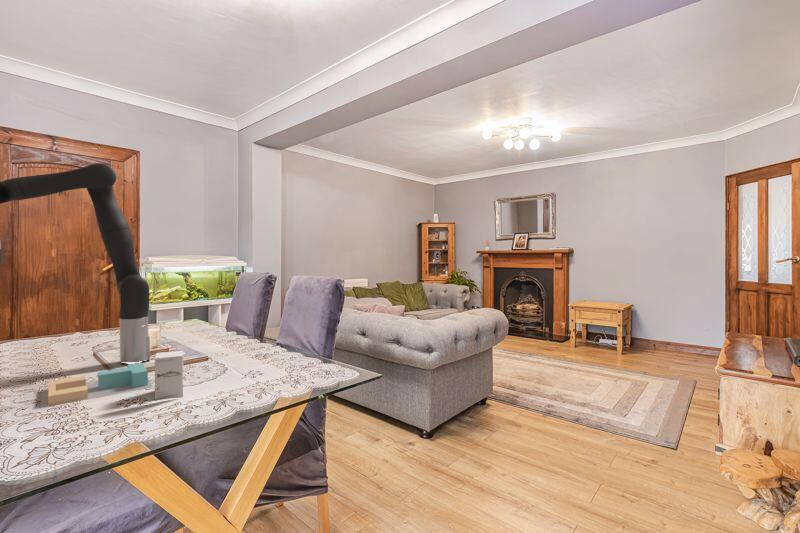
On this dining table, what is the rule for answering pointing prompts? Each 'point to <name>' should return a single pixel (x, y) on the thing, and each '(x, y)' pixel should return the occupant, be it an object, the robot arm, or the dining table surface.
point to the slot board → (96, 392)
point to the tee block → (124, 377)
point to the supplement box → (169, 375)
